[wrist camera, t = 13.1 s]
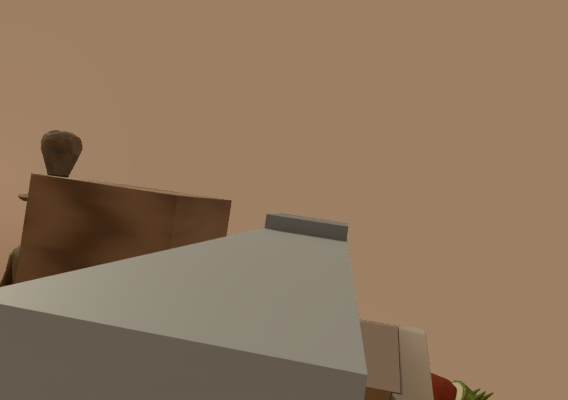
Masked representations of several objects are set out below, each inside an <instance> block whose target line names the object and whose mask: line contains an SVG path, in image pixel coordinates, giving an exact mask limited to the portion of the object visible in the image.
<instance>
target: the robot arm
mask: <svg viewBox="0 0 568 400" xmlns="http://www.w3.org/2000/svg"><path fill="white" fill-rule="evenodd" d="M359 321H360V328H361V335H362V341H363V348H364V354H365V361H366V367H367V374H368V376H367V383H366V389H365V396H364V400H434V397H433V389H432V380H431V372H430V363H429V355H428V346H427V339H426V333H425V332H424V330H423V329H416V328H410V327H404V326H396V325H390V324H384V323H378V322H372V321H366V320H360V319H359Z"/></svg>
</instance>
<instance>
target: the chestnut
mask: <svg viewBox="0 0 568 400" xmlns="http://www.w3.org/2000/svg"><path fill="white" fill-rule="evenodd" d="M431 380H432V389H433V397H434V400H486V399H487V398H488V397H490V396H491V395H492V394H493V393H491V394H488V395H485V396H483V395H484V394H485V392H486V391H485V392H483V393H481V394H479V395H476V393H477V392H478V391H479V390H480V389H477V390H475V391H472V390H470V389H469V388H468V387H467V386H466V385H465V384H464V383H463V382H462V381H453V382H450V381H449V380H447V379H445V378H443V377H440V376H438V375H435V374H432V373H431Z"/></svg>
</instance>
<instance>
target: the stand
mask: <svg viewBox="0 0 568 400" xmlns="http://www.w3.org/2000/svg"><path fill="white" fill-rule="evenodd" d="M230 208H231V200H224V199H217V198H210V197H204V196H198V195H190V194H184V193H178V192H171V191H165V190H158V189H151V188H145V187H138V186H132V185H123V184H115V183H106V182H98V181H90V180H82V179H73V178H65V177H57V176H49V175H40V174H31V180H30V187H29V193H28V199H27V206H26V213H25V219H24V226H23V232H22V239H21V245H20V252H19V259H18V265H17V272H16V278H15V284H17V283H21V282H26V281H30V280H35V279H39V278H44V277H48V276H53V275H57V274H61V273H66V272H70V271H75V270H79V269H84V268H88V267H93V266H97V265H102V264H106V263H111V262H115V261H119V260H124V259H128V258H133V257H137V256H142V255H146V254H151V253H155V252H160V251H164V250H168V249H173V248H177V247H182V246H186V245H191V244H195V243H200V242H204V241H209V240H213V239H218V238H222V237H226V235H227V228H228V221H229V214H230Z"/></svg>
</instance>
